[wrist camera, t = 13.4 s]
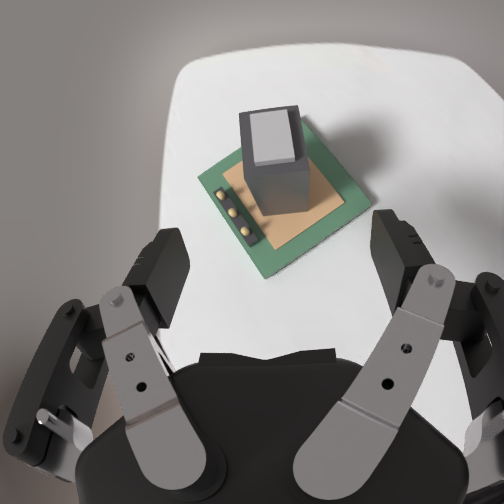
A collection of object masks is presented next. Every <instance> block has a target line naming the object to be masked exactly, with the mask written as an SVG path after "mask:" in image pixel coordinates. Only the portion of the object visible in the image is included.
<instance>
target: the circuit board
mask: <svg viewBox="0 0 504 504" xmlns="http://www.w3.org/2000/svg"><path fill="white" fill-rule="evenodd" d="M301 123H302V129H303V134H304V139H305V145H306V151H307V156H308V162H309V168H310V178H309V196H308V211H307V212H299V213H290V214H280V215H272V216H262V214H261V212H260V210H259V208H258V206H257V204H256V202H255V200H254V198H253V196H252V194H251V192H250V190H249V188H248V186H247V184H246V182H245V180H244V174H243V161H242V148H239V149H238V150H236V151H235V152H233V153H232V154H230V155H229V156H227V157H226V158H224V159H223V160H221V161H220V162H218V163H217V164H215V165H214V166H212V167H211V168H210V169H208V170H207V171H205V172H204V173H202V174H201V175H200V176H198V179H199V181H200V182H201V184H202V185H203V187H204V188H205V190H206V191H207V193H208V194H209V196H210V197H211V199H212V200H213V202H214V203H215V205H216V206H217V208H218V209H219V211H220V212H221V214H222V216H223V217H224V219H225V220H226V222H227V223H228V225H229V226H230V228H231V229H232V231H233V232H234V234H235V235H236V237H237V238H238V240H239V241H240V243H241V244H242V246H243V247H244V249H245V250H246V252H247V253H248V255H249V256H250V258H251V259H252V261H253V262H254V264H255V266H256V267H257V269H258V270H259V272H260V273H261V275H262V276H263V278H264V279H267V278H269V277H270V276H272V275H273V274H275V273H276V272H278V271H279V270H281V269H282V268H284V267H285V266H286V265H288V264H289V263H291V262H292V261H294V260H295V259H297V258H298V257H300V256H301V255H303V254H304V253H305V252H307V251H308V250H310V249H311V248H313V247H314V246H315V245H317V244H318V243H320V242H321V241H323V240H324V239H326V238H327V237H328V236H330V235H331V234H333V233H334V232H335V231H337V230H338V229H340V228H341V227H343V226H344V225H345V224H347V223H348V222H350V221H351V220H352V219H354V218H355V217H357V216H358V215H359V214H361V213H362V212H363V211H365V210H366V209H368V208H369V207H370V206H371V204H372V203H371V202H370V201H369V199H368V198H367V197H366V195H365V194H364V193H363V191H362V190H361V189H360V188H359V186H358V185H357V184H356V183H355V181H354V180H353V179H352V178H351V176H350V175H349V174H348V173H347V171H346V170H345V169H344V168H343V167H342V165H341V164H340V163H339V162H338V161H337V159H336V158H335V157H334V156H333V155H332V154H331V152H330V151H329V150H328V149H327V148H326V147H325V145H324V144H323V143H322V142H321V141H320V140H319V139H318V138H317V136H316V135H315V134H314V133H313V132H312V131H311V130H310V129H309V128H308V127H307V126H306V125H305V123H304V122H303V121H302V120H301Z"/></svg>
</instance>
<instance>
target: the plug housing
mask: <svg viewBox="0 0 504 504" xmlns="http://www.w3.org/2000/svg"><path fill="white" fill-rule="evenodd" d="M239 122H240V135H241V148H242V161H243V174H244V180H245V182H246V184H247V186H248V188H249V190H250V192H251V194H252V196H253V198H254V200H255V202H256V204H257V206H258V208H259V210H260V212H261V214H262V216H272V215H280V214H290V213H299V212H307V211H308V196H309V178H310V168H309V162H308V156H307V151H306V145H305V139H304V134H303V129H302V123H301V118H300V113H299V108H298V105H295V106H285V107H277V108H269V109H262V110H255V111H248V112H242V113H239Z"/></svg>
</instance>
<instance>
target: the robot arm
mask: <svg viewBox="0 0 504 504" xmlns="http://www.w3.org/2000/svg"><path fill="white" fill-rule="evenodd" d="M370 249H371V256H372V259H373V261H374V264H375V267H376V270H377V272H378V275H379V278H380V281H381V284H382V286H383V289H384V292H385V295H386V298H387V301H388V304H389V307H390V311H391V314H392V319H391V321H390V322H389V324H388V326H387V328H386V330H385V331H384V333H383V335H382V337H381V338H380V340H379V342H378V343H377V345H376V347H375V348H374V350H373V352H372V353H371V355H370V357H369V358H368V360H367V361H366V363H365V365H364V366H361V365H359V364H357V363H355V362H352V361H349V360H345V359H341V358H336V353H335V348H331V349H319V350H306V351H299V352H295V353H291V354H288V355H284V356H280V357H276V358H273V359H268V360H262V359H257V358H252V357H247V356H242V355H238V354H233V353H200V358H199V362H198V363H194V364H191V365H188V366H186V367H183V368H181V369H179V370H177V371H176V370H175V369H174V367H173V365H172V363H171V361H170V359H169V357H168V355H167V353H166V351H165V349H164V347H163V345H162V343H161V341H160V339H159V337H158V336H157V334H156V333H157V330H158V328H165V329H169V327H170V324H171V321H172V318H173V315H174V312H175V309H176V307H177V304H178V301H179V298H180V295H181V292H182V289H183V287H184V284H185V281H186V278H187V275H188V273H189V269H190V260H189V256H188V253H187V250H186V247H185V244H184V241H183V238H182V235H181V233H180V230H179V229H178V228H168V229H161V230H159V232H158V234H157V235H156V237H155V239H154V240H153V242H150V243H149V244H148V245H147V246H146V247H144V248H143V249H142V251H141V253H140V254H139V256H138V259H136V261H135V263H134V266H132V268H131V270H130V272H129V274H128V275H127V277H126V279H125V281H124V282H123V284H122V286H118V287H115V288H113V289H111V290H109V291H108V292H107V293H106V294H104V295H103V297H102V298H101V300H100V303H99V304H98V305H95V306H91V307H88V308H85V306H84V305H83V303H82V302H81V301H80V300H79V299H73V300H70V301H68V302H66V303H64V304H63V305H62V306H61V307H60V308H59V309H58V311H57V313H56V314H55V316H54V318H53V320H52V322H51V324H50V326H49V328H48V329H47V331H46V333H45V335H44V337H43V339H42V341H41V343H40V345H39V347H38V349H37V351H36V353H35V355H34V357H33V359H32V362H31V364H30V366H29V368H28V370H27V373H26V375H25V377H24V380H23V382H22V384H21V387H20V390H19V392H18V394H17V397H16V399H15V402H14V404H13V407H12V410H11V412H10V415H9V418H8V421H7V424H6V427H5V430H4V434H3V444H4V448H5V450H6V451H7V453H8V454H10V455H11V456H13V457H15V458H17V459H18V460H21V461H22V462H24V463H25V464H26V465H28V466H30V467H32V468H34V469H36V470H38V471H40V472H42V473H44V474H46V475H48V476H52V477H55V478H58V479H60V480H62V481H65V482H74V483H76V487H77V491H78V497H79V504H462V503H463V501H464V498H465V496H466V494H467V493H470V492H473V491H475V490H478V489H480V488H483V487H485V486H495V485H498V484H500V483H503V482H504V280H503V279H502V278H500V277H499V276H498V275H496V274H493V273H490V272H483V273H480V274H479V275H478V276H477V278H476V280H475V283H469V282H462V281H457V280H455V277H454V275H453V274H452V272H451V271H449V270H448V269H447V268H445V267H443V266H441V265H437V264H436V263H435V262H434V260H433V258H432V256H431V255H430V253H429V251H428V250H427V248H426V246H425V245H424V243H423V242H422V240H421V238H420V237H419V236H418V234H417V232H416V230H415V229H414V227H413V226H411V225H410V224H408V223H407V222H406V221H399V219H398V218H397V216H396V215H395V213H394V211H393V210H392V209H385V210H374V211H373V216H372V229H371V241H370ZM487 334H488V336H489V338H488V336H487ZM440 339H441V340H449V341H453V344H454V347H455V351H456V354H457V357H458V361H459V364H460V368H461V371H462V375H463V379H464V383H465V387H466V391H467V396H468V400H469V405H470V410H471V415H472V420H473V421H472V422H471V423H470V425H469V426H468V428H467V430H466V434H465V443H464V451H463V453H462V452H461V451H460V449H459V448H458V447H457V446H455V445H454V444H453V443H452V442H451V441H450V440H448V439H447V438H446V437H445V436H444V435H443V434H442V433H440V432H439V431H438V430H437V429H436V428H435V427H434V426H432V425H431V424H430V423H429V422H428V421H427V420H426V419H424V418H423V417H422V416H421V415H420V414H419V413H418V412H416V411H415V410H414V409H413V408H412V407H411V404H412V402H413V400H414V398H415V396H416V394H417V392H418V390H419V388H420V386H421V383H422V381H423V379H424V377H425V375H426V372H427V370H428V368H429V365H430V363H431V360H432V358H433V355H434V353H435V350H436V348H437V345H438V342H439V340H440ZM489 339H490V341H491V344H492V346H491V344H490V341H489ZM75 347H77V348H78V349H79V350H80V351H81V352H82V354H81V356H80V359H79V362H78V364H77V366H76V369H75V371H74V374H73V373H72V372H71V370H70V366H69V362H70V358H71V356H72V354H73V352H74V349H75ZM108 371H110V375H111V378H112V382H113V385H114V388H115V391H116V394H117V397H118V400H119V403H120V406H121V409H122V412H123V416H122V417H121V418H120V419H119V420H117V421H116V422H115V423H114V424H113V425H112V426H110V427H109V428H108V429H107V430H106V431H105V432H103V433H102V434H101V435H100V436H99V437H97V438H96V439H95V440H93V436H92V432H91V428H92V424H93V421H94V417H95V413H96V409H97V406H98V403H99V400H100V397H101V393H102V390H103V387H104V384H105V381H106V377H107V374H108Z"/></svg>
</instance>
